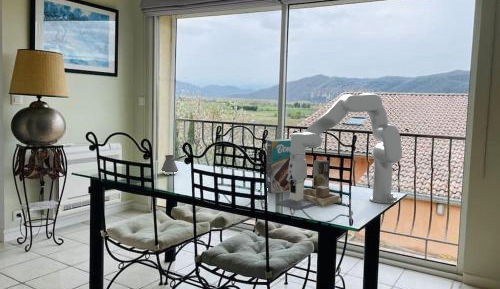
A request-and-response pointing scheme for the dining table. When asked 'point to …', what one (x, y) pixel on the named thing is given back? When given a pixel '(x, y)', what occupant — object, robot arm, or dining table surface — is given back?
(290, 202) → the trivet
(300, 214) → the dining table surface
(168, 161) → the coffee pot
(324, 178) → the coffee box
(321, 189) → the walnut block
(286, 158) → the cake mix box
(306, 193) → the crate
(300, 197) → the white tall cylinder
